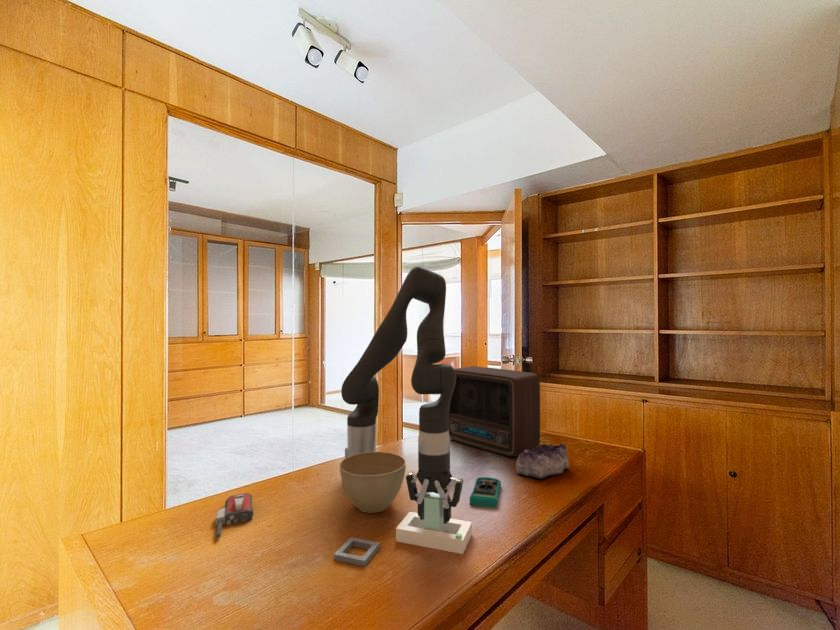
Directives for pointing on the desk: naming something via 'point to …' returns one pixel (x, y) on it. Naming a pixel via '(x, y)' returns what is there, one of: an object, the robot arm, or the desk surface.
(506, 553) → the desk surface
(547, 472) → the geode
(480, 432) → the radio
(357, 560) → the grey square ring
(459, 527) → the port panel
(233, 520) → the walkie-talkie
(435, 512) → the plug
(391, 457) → the flower pot
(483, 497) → the digital multimeter
